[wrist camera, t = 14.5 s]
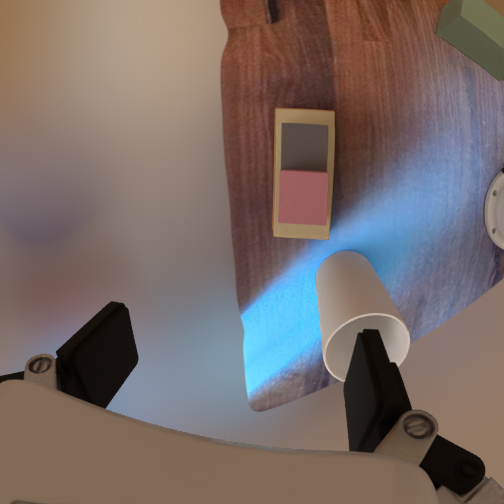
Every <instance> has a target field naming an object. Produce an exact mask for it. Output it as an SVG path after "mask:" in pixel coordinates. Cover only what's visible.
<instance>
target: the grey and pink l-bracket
mask: <svg viewBox="0 0 504 504" xmlns="http://www.w3.org/2000/svg"><path fill="white" fill-rule="evenodd" d="M327 157H328V125H318V124H301V123H282V129H281V170H280V171H279V204H278V223H289V224H306V225H322V226H326V220H327V206H328V190H329V173H328V172H327Z"/></svg>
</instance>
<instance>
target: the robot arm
mask: <svg viewBox="0 0 504 504" xmlns="http://www.w3.org/2000/svg"><path fill="white" fill-rule="evenodd" d="M484 216H485V224H486V228H487V232H488V234H489V236H490V238H491V240H492V241H493V242H494V243H495V244H496V245H497V246H499V247H500V248H502V249H504V173H502V171H501V172H500V173H499V174H498V175H497V176H496V177H495V178H494V180H493V181H492V183H491V185H490V187H489V190H488V193H487V196H486V201H485V213H484ZM56 354H57V356H58V357H57V358H56V359H55V358H54V357H53V356H52V355H49V354H39V355H36V356H34V357H32V358H31V359H29V361H28V362H27V363H26V366H25V371H22V372H17V373H12V374H8V375H3V376H0V504H504V489H503V488H502V487H501V486H500V485H499V484H498V483H497V482H496V481H495V480H494V479H493V478H492V477H490V478H489V479H487V477H486V476H485V466H484V463H483V461H482V460H481V459H480V458H479V457H478V456H476V455H474V454H473V453H471V452H469V451H467V450H465V449H463V448H461V447H459V446H457V445H455V444H454V443H452V442H450V441H448V440H446V439H445V438H443V437H441V436H439V435H437V432H438V423H437V421H436V419H435V418H434V417H433V416H432V415H431V414H429V413H428V412H425V411H422V410H412V407H411V404H410V401H409V398H408V395H407V392H406V389H405V386H404V383H403V380H402V377H401V374H400V372H399V369H398V366H397V364H396V363H395V362H390V360H389V357H388V354H387V351H386V349H385V346H384V343H383V340H382V338H381V335H380V332H379V330H378V329H363V331H362V332H359V333H358V334H357V338H356V342H355V346H354V350H353V354H352V357H351V361H350V365H349V368H348V372H347V375H346V379H345V382H344V398H345V408H346V417H347V428H348V438H349V451H324V450H304V449H291V448H279V447H269V446H260V445H252V444H245V443H238V442H231V441H225V440H220V439H214V438H209V437H204V436H199V435H194V434H189V433H185V432H181V431H177V430H173V429H169V428H165V427H161V426H158V425H153V424H150V423H147V422H144V421H140V420H137V419H134V418H131V417H127V416H124V415H121V414H118V413H115V412H112V411H110V410H107V409H106V407H107V406H108V404H109V403H110V401H111V400H112V398H113V397H114V396H115V394H116V393H117V391H118V390H119V389H120V387H121V386H122V384H123V383H124V381H125V380H126V379H127V377H128V376H129V375H130V373H131V372H132V370H133V369H134V368H135V366H136V365H137V363H138V353H137V349H136V344H135V340H134V335H133V330H132V326H131V321H130V315H129V310H128V308H127V307H125V305H124V304H123V303H119V302H113V301H111V302H110V303H109V304H107V305H106V306H105V307H104V308H103V309H102V310H101V311H99V312H98V313H97V314H96V315H95V316H94V317H93V318H92V319H91V320H90V321H89V322H87V323H86V324H85V325H84V326H83V327H82V328H81V329H80V330H79V331H77V332H76V333H75V334H74V335H73V336H72V337H71V338H70V339H69V340H68V341H67V342H66V343H65V344H64V345H63V346H61V347H60V348H59V349H58V350H57V351H56Z"/></svg>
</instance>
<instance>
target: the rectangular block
mask: <svg viewBox="0 0 504 504" xmlns="http://www.w3.org/2000/svg"><path fill="white" fill-rule="evenodd" d="M436 35H437V36H439V37H440V38H442V39H444V40H445V41H447V42H448V43H450V44H451V45H453V46H454V47H455V48H457V49H458V50H460V51H461V52H463V53H464V54H465V55H467V56H468V57H469V58H471V59H472V60H473V61H475V62H476V63H477V64H479V65H480V66H481V67H482V68H484V69H485V70H486V71H487V72H488V73H490V74H491V75H492V76H493V77H494V78H496V79H497V80H498V81H499V80H503V79H504V17H503V16H501V15H500V14H499V13H498V12H497V11H495V10H494V9H493V8H492V7H490V6H489V5H488V4H487V3H485V2H484V1H483V0H450V1H449V2H448V3H447V4H446V5H445V6H444V7H442V9H441V14H440V18H439V22H438V26H437V30H436Z"/></svg>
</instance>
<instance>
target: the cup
mask: <svg viewBox="0 0 504 504" xmlns="http://www.w3.org/2000/svg"><path fill="white" fill-rule="evenodd" d="M315 283H316V292H317V301H318V310H319V319H320V329H321V340H322V351H323V359H324V363H325V366H326V368H327V370H328V371H329V372H330V373H331V375H333V376H334V377H335V378H337V379H339V380H341V381H343V382H345V379H346V375H347V372H348V368H349V365H350V361H351V357H352V354H353V350H354V346H355V342H356V338H357V334H358V333H359V332H362V331H363V329H378V330H379V332H380V335H381V338H382V340H383V343H384V346H385V349H386V351H387V354H388V357H389V360H390V362H395V363H396V364H397V366H398V367H399V365H400V364H401V363H402V362H403V360H404V359H405V357H406V355H407V353H408V350H409V346H410V336H409V332H408V329H407V327H406V325H405V323H404V321H403V319H402V317H401V315H400V313H399V312H398V310H397V308H396V306H395V304H394V303H393V301H392V299H391V297H390V296H389V294H388V292H387V290H386V289H385V287H384V285H383V283H382V282H381V280H380V278H379V277H378V275H377V273H376V272H375V270H374V268H373V267H372V265H371V263H370V262H369V261H368V259H367V258H365V257H364V256H363V255H361V254H359V253H357V252H353V251H340V252H337V253H334V254H332V255H330V256H329V257H327V258H326V259H325V260H324V261H323V262H322V263H321V265H320V266H319V268H318V270H317V273H316V278H315Z"/></svg>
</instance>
